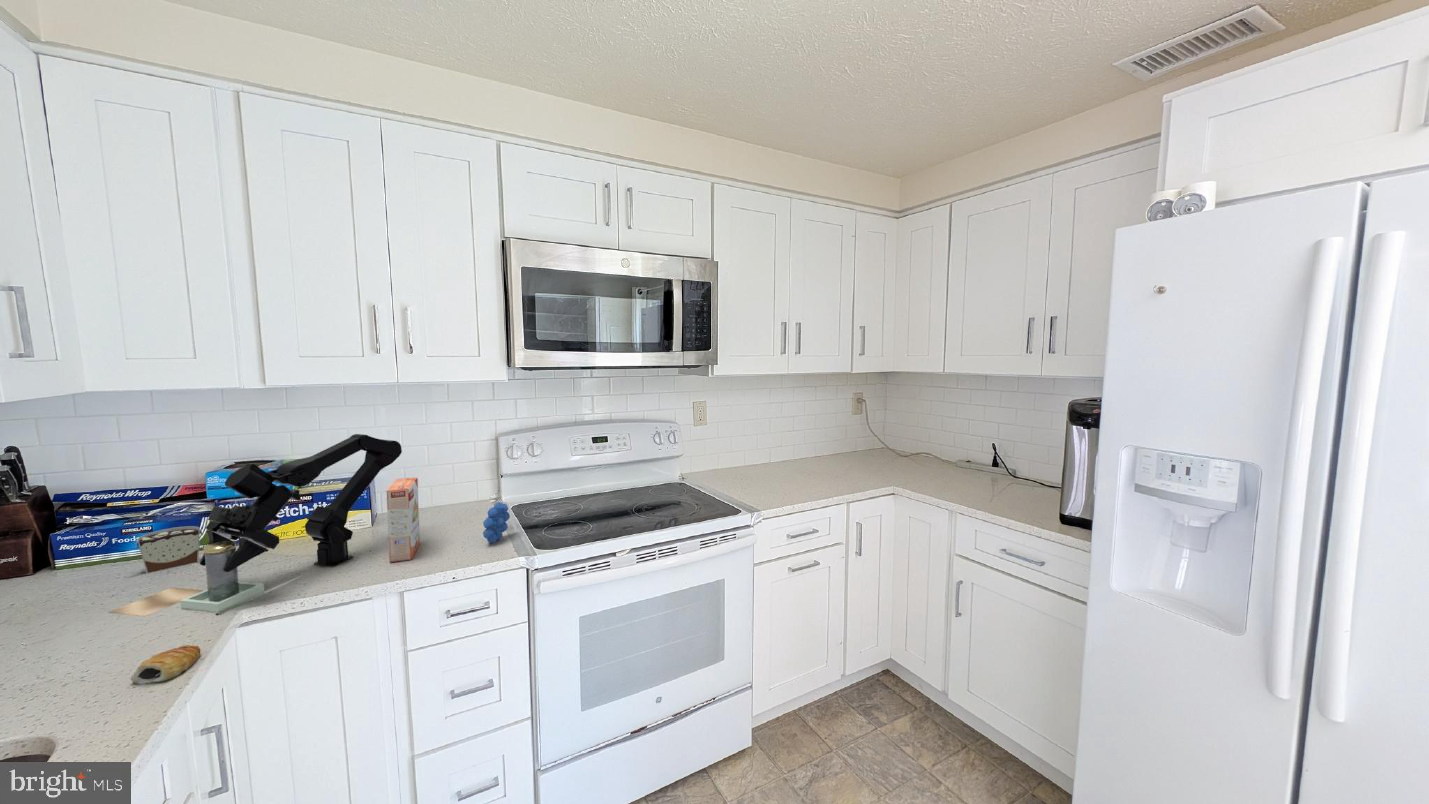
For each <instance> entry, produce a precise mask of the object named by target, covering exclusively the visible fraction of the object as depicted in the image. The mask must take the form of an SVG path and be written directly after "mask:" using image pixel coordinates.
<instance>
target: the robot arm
mask: <svg viewBox="0 0 1429 804" xmlns="http://www.w3.org/2000/svg"><path fill="white" fill-rule="evenodd" d="M360 451H365V455H364V456H365V457H364V462H363V463H362V464H361V465H360V467H359V468H358V469H357V471H355V473H354V474H353V476H351V478H350V479H349V481H347V482H346V484H345V485H344V487H342V489H341V490H339V493H338V494H337V495H336V496H335V498H333V500H332V501H331V502H330V503H329V504H328V505H326V506H325V507H324V506H317V507H316V508H315V509H314V510H313V512H312V513H311V514H310V516H308V517H307V518H306V520H307V521H306V523H305V524H304V528H305V529H304V530H305V533H306V535H308V536H310V537H311V539H312V540H313V541H314V542H318V543H317V549H316V556H317V559H316V560H317V561H315V562H314V563H313V565H314V566H320V567H321V566H323V567H336V566H338V565H340V564H342V563H344V562H346V561H349V560H350V559H353V558H354V555H352V554H351V555H350V554H349V550H348V547H349V546H348V541H350V540H351V539H352V537H353V533H354V532H353V530H351V529H349V528H347V527H345V526H346V524H347V521H348V516H349V512H350V510H351V509H352V507H353V506H354V505H355V504H356V503H357V501H358V500H359V499H360V497H361V496H362V495H363V494H364V492H365V491H366V489H367V488H368V487H369V486H370V484H371V483H372V482H373V481H374V479H375V478H376V476H377V475H378V474H379V473H380V472H381V471H382V470H383V469H385V468H386V467H389V466H390V465H392V464H393V463H394V462H395V461H396V460H397V459H398V458H399V457H400V456H401V455H402V452H403V450H402V445H401V443H400V442H399V441H397V440H391V439H380V438H377V437H372V436H371V435H370V436H369V435H368V434H361V433H355V434H352V435H350V437H348V438H346V439H343V440H342V441H339V442H338V443H336V444H333V445H331V446H329V447H327V448H325V449H323V450H321V451H319V452H317V453H316V454H313V455H311V456H310V455H309V456H308V457H304V458H298V459H294V460H291V461H288V462H285V463H282V464H280V465H279V466H278V467H277V468H276V469H273V470H269V471H267V472H266V471H265V470H263V469H262V468H260V467H259V466H258V465H256V464H255V463H250V462H248V463H247V464H246V465H245V466H243V467H240V468H238V469H237V470H235V471H234V472H231V474H230V475H229V476H228V477H227V478H226V480H225V482H224V486H225V487H226V488H228V489H230V490H231V491H234V492H236V493H238V494H239V495H241V496H243V497H245V498H247V499H254V498H255V500H254V501H253V502H252V503H251V505H249V504H245V505H243V506H241V505H240V506H239V505H234V506H232V508H231V507H222V506H217V505H216V506H213V508H212V510H211V512H210V514H209V515H208V519H207V520H208V521H210V522H209V523H208V524H207V525H206V526H205V527H204V529H206V534H207V535H208V539H209V541H208V543H207V545H210V544H213V543H217V542H222V541H236V542H237V541H238V548H236V552H235V553H234V555H233V556H232V558H231V559H230V560H229V562H228V563H227V565H226V566H225V568H224V571H225V572H230V571H231V570H233V569H235V568H238V567H240V566H242V565H244V564H246V563H247V562H249V561H250V560H252V559H254V558H256V557H257V556H260V555H261V554H263V553H265V552H268V551H270V550H274V549H275V548H277V546H278V545H279V544H280V537H279V536H278V535H276V534H274V533H272V532H270V531H268V530H265V529H266V528H267V527H268V526H269V525H270V523H272V522H275V523H276V522H277V521H278V520H279V516H277V515H278V514H279V513H280V512H281V510H282V509H283V508H284V506H286V505H287V503H288V502H289V501H290V500H292V501H298V502H300V501H301V499H302V498H301V495H300V490H299V489H291V488H289V487H287V486H292V487H300V488H302V487H306V486H307V485H309V484H310V483H312V481H315V479H317V478H318V477H319V476H320V475H321V474H322V472H323V471H324V470H326V469H327V468H329V467H331V466H333V465H335V464H337V463H339V462H341V461H343V460H345V459H346V458H348V457H351V456H352V455H354V454H356V453H358V452H360ZM275 483H279V485H277V484H275ZM269 549H270V550H269ZM200 565H201V566H203V567H206V563H205V553H204V552H203V555H202V557H201V559H200V562H199V566H200Z"/></svg>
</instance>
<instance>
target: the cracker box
mask: <svg viewBox="0 0 1429 804" xmlns="http://www.w3.org/2000/svg"><path fill="white" fill-rule="evenodd" d="M386 508H387V509H386V510H387V511H386V513H387V515H386V516H387V535H388V555H389V556H388V557H389V560H388V561H389V563H395V562H403V561H405V562H406V561H412V560H413V557H414V556H415V554H416V551H417V550H418V547H419V545H420V543H421V537H420V512H419V509H420V508H419V479H418V477H404V478H403V477H402V478H396V479H395V481H393V482H392V483H391V485H390V486H389V487H388V488H387V489H386Z"/></svg>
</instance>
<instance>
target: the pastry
mask: <svg viewBox="0 0 1429 804" xmlns="http://www.w3.org/2000/svg"><path fill="white" fill-rule="evenodd" d="M201 652H202V651H201V648H200V646H199V645H181V646H179V647H175V648H172V649H169V650H166V651H163V652H159V653H156V654H154V655H152V656H151V657H150V658H149V659H145V660H144V661H142V662H141V664H139V666H138V667H137V669H136V670H135V671H134V673H133V674H132V676H130V680H131V682H132V683H134V684H135V683H136V685H145V684H146V683H147V684H151V683H162V682H166V681H168V680H171V679H174V678H175V677H177V676H180V675H181V674H182V673H183V672H184V671H187V670H188V669H190V667H191V666H192V665H194V663H196V661H197V660H199V658H200V657H201Z"/></svg>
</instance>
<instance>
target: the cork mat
mask: <svg viewBox="0 0 1429 804" xmlns="http://www.w3.org/2000/svg"><path fill="white" fill-rule="evenodd" d="M205 590H206V589H205ZM205 590H203V589H193V588H185V587H170V588H168V589H165V590H162V591H160V592H157V593H154V594H151V595H149V596H147V597H144V598H141V599H139V600H136V601H133V602H130V603H129V604H126V605H123V606H121V607H118V608H116V609H113V610H110V611H107V613H110V614H117V615H118V614H119V615H128V616H139V617H146V616H149V615H152V614H154V613H156V612H159V611H162V610H163V609H166V608H168V607H172V606H173V605H175V604H178V603H181V600H183V599H185V598H188V597H190V596H193V595H195V594H198V593H200V592H202V591H205Z"/></svg>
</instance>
